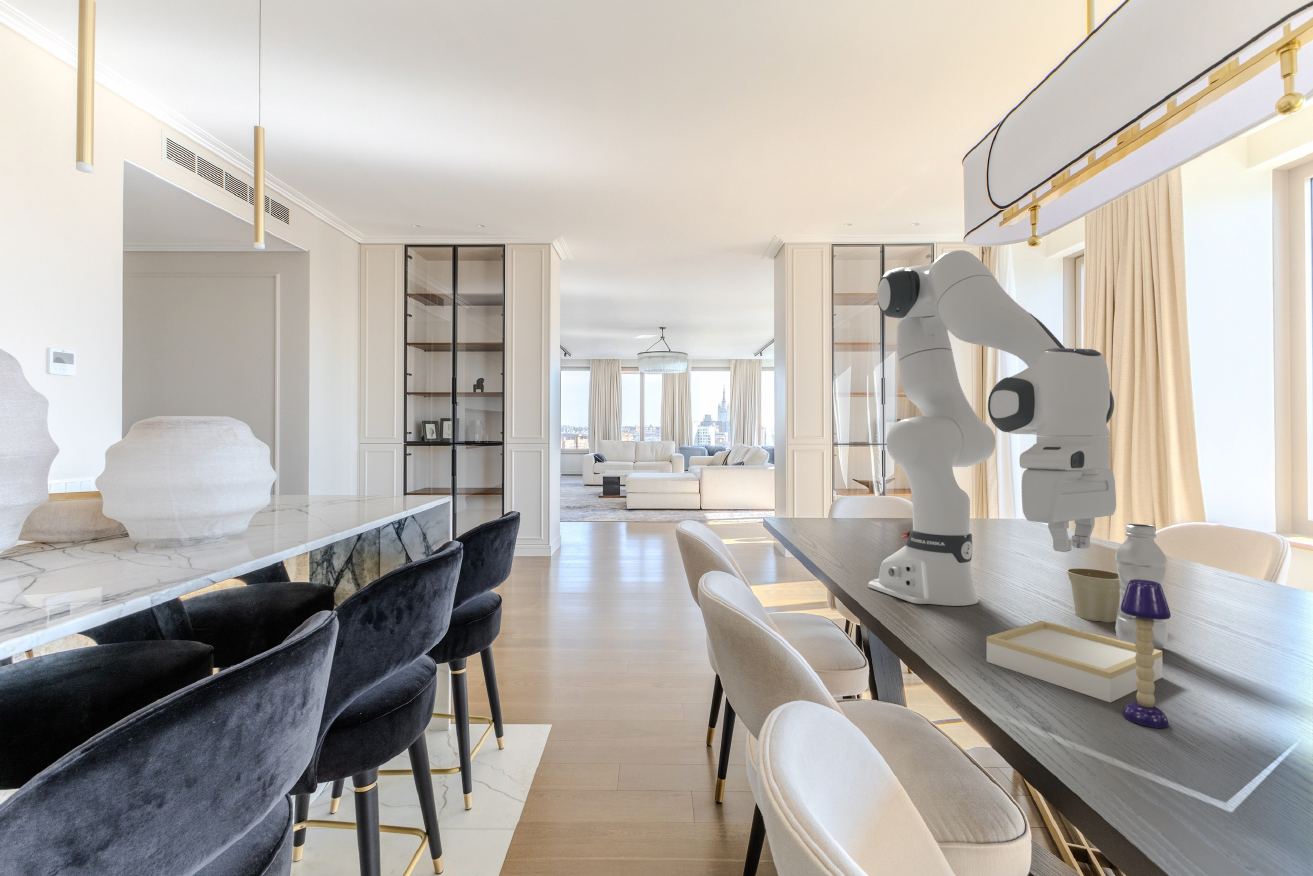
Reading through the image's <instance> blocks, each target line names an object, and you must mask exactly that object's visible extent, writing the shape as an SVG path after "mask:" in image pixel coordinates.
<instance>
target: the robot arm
mask: <svg viewBox="0 0 1313 876" xmlns="http://www.w3.org/2000/svg"><path fill="white" fill-rule="evenodd" d="M877 285H878V286H877V290H876V291H877V294H876V296H877V298H876V299H877V304H878V308H879V309H880V312H882V313H883V314H884V315H885V317H889V318H893V319H894V318H895V319H899V320H898V322H897V325H896V351H897V361H898V365H899V371H900V377H901V382H902V387H903V393H904V396H905V397H906V399H907V400H908V401H910V402H911V403H912V404H914V405H915V406H916V407H917V408H918V410H919V411H920V413H921V415H922V416H919V415H917V416H914V417H909V418H905V419H901V420H898V421H896V422H895V423H894V424H892V425H891V427H890V429H889V431H888V433H887V436H886V449H887V452H888V454H889V455H890V457H891V459H892V460H893V461H894V462H895V463H897V464H898V465H899V467H900V468H901V469H902V471H903V473H904V475H905V478H906V479H907V482H908V485H909V488H910V494H911V501H912V503H911V504H912V529H911V530H909V531H907V532H902V533H901V535H902V536H901V538H902V539H906V538H907V540H906V542H905V545H904V546H903V547H901V548H900V549H899V550H896V551H895V552H894V553H892V554H891V555H889V556H888V557H886V558H885V559H884V560H883V561H882V562H881V564H880V567H879V573H878V575H879V576H878V578H875V579H872V580H869V582H868V584H867V587H868V588H870V589H873V590H876V591H878V592H881V593H883V594H887V595H889V596H893V597H895V598H898V599H900V600H904V601H907V602H910V603H913V604H919V605H927V604H928V605H938V606H940V605H941V606H948V607H949V606H952V607H957V606H958V607H960V606H961V607H963V606H964V607H965V606H972V605H975V604H978V603H979V602H980V601H979V597H978V595H977V591H976V588H975V583H974V578H973V577H974V576H973V570H972V556H973V534H972V533H971V526H970V525H971V523H970V521H971V500H970V497H969V495H968V494H967V492H966V491H965V490H963V489H962V488H961V487H960V486H959V484H958V483H957V480H956V478H955V474H954V470H953V468H967V467H971V466H975V465H978V464H980V463H983V462H986V461H988V460H989V459H990V458H991V456H993V454H994V451H995V449H996V443H997V441H996V436H995V432H994V431H993V429H992V428H991V427H990V426H989V425H988V424H986V422H984V421H983V420H982V419H981V418H980V417H979V416H978V415H977V413H976V411H974V409H973V408H972V405H970V402H969V401H968V399H967V397H966V395H965V392H964V391H963V388H962V386H961V383H960V380H959V376H958V372H957V367H956V363H955V358H954V352H953V348H952V343H951V341H950V337H949V333H950V334H951V335H953V336H954V337H955V338H957V340H958V339H959V340H960V341H962V342H965V343H968V344H973V345H978V346H983V347H988V348H991V349H992V348H993V349H996V350H1000V351H1002V352H1006V353H1008V354H1010V355H1013V356H1015V357H1017V358H1018V359H1020V360H1021V361H1022V362H1024V364H1025V365H1026V366H1027V368H1025V369H1024V370H1023V369H1022V371H1020V372H1018V373H1015V374H1014V375H1012V376H1008V377H1004V378H1002V379H1001V380H999V381H998V382H997V383H996V384H994V387H993V388H992V389H991V391H990V394H989V397H988V402H987V410H988V411H987V412H988V416H989V418H990V420H991V422H992V423H993V425H994V426H995V427H996V428H997V429H998V430H1000V431H1001V432H1003V433H1008V434H1014V435H1035V436H1036V443H1034V444H1033V445H1032V446H1030V448H1028V449H1027V450H1025V451H1024V452H1022V453H1021V454H1020V455H1019V467H1020V468H1022V469H1025V470H1023V473H1022V476H1021V505H1022V506H1021V507H1022V512H1023V515H1024V517H1025V519H1026V520H1027V521H1028V522H1034V523H1043V524H1048V525H1047V526H1048V527H1047V529H1048V530H1049V533H1050V535H1051V537H1052V544H1053V545H1052V548H1053V551H1055V552H1060V553H1067V552H1071V551H1072V549H1073V548H1074V549H1080V550H1081V549H1082V550H1084V549H1085V550H1086V549H1089V548H1090V546H1091V536H1092V532H1093V531H1094V527H1095V522H1096V520H1095V518H1102V517H1109V516H1113V515H1115V512H1116V508H1117V491H1116V481H1115V476H1114V472H1113V470H1112V469H1111V468H1110V467H1111V466H1110V465H1111V461H1110V459H1111V458H1110V455H1111V454H1110V452H1111V451H1110V450H1111V443H1110V442H1111V441H1110V440H1111V439H1110V438H1111V437H1110V435H1111V434H1110V429H1109V427H1108V423H1109V422H1110V420H1111V418H1112V416H1113V414H1114V410H1115V400H1114V399H1115V398H1114V396H1113V393H1112V390H1111V388H1110V375H1109V368H1108V364H1107V361H1106V359H1105V357H1104V355H1103V353H1102V352H1099V351H1097V349H1096V350H1095V349H1092V348H1066V347H1065V346H1064V345H1063V344H1062V342H1060V340H1059V339H1058V338H1057V337H1056V336H1055V335H1054V334H1053V333H1052V332H1051V330H1050V329H1049V328H1048V327H1046V325H1045V324H1044V323H1043V322H1042V321H1041V320H1040V319H1038V318H1037V317H1035V316H1034V315H1033V314H1032V313H1030V312H1029V311H1027V310H1026V309H1025V308H1023V307H1022V306H1021V305H1020V304H1019V303H1017V302H1016V301H1015V300H1014V299H1013V298H1012V297H1011V296H1010V295H1009V294H1008V293H1007V292H1006V291H1005V290H1004V288H1003V287H1002V286H1001V285H1000V283H999V282H998V281H997V278H996V277H995V276H994V274H993V273H992V272H991V271H990V269H989V268H988V267H987V266H986V265H985V264H984V263H983V262H982V261H981V260H980V259H979V257H977V256H976V255H974V254H973V253H971V252H970V251H967V250H964V249H956V250H955V249H954V250H951V251H948V252H945V253H943V254H942V255H940V256H939V257H938V258H937V259H935V260H934V261H933V262H930V263H927V264H926V263H925V264H919V265H913V266H908V267H904V266H903V267H901V266H900V267H897V268H893V269H891V270H888V271H886V272H884V274H883V275H882V277H881V278H880V279H879V281H878V284H877ZM1071 521H1074V524H1076V525H1075V531H1074V534H1073V535H1071V539H1070V537H1069V532H1068V529H1069V528H1070V522H1071Z"/></svg>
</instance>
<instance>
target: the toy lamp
mask: <svg viewBox="0 0 1313 876" xmlns="http://www.w3.org/2000/svg"><path fill="white" fill-rule="evenodd" d="M1167 601H1168V600H1167V599H1166V595H1165V593H1164V588H1163V589H1162V587H1161V585H1160V584H1159V583H1157V582H1154V581H1148V580H1139V579H1134V580H1130V581H1129V583H1128V586H1127V589H1126V592H1125V595H1124V598H1123V601H1122V604H1121V611H1122V612H1123V613H1125V614H1128V615H1131V616H1136V618H1135V623H1136V625H1137V628H1136V631H1135V635H1136V638H1137V641H1136V643H1135V647H1136V650H1137V653H1136V656H1135V660H1136V663H1137V667H1136V675H1137V677H1138V678H1137V681H1136V686H1137V689H1138V690H1137V692H1136V696H1135V697H1136V701H1133V702H1129V703H1127V704H1126V705H1125V707H1124V708H1123V710H1122V711H1123V712H1122V716H1123V717H1124V718H1125V719H1126V720H1128V721H1130V722H1132V723H1134V724H1137V725H1141V726H1144V727H1149V728H1157V729H1158V728H1159V729H1162V728H1167V727H1168V726H1169V721H1168V717H1167V716H1166V714H1165V712H1163V710H1162V709H1160V708H1159V707H1157V706H1155V705H1156V704H1155V703H1156V698H1155V697H1156V696H1155V695H1154V692H1155V690H1156V689H1155V688H1156V685H1155V681H1154V682H1153V679H1154V676H1155V673H1154V670H1153V668H1152V667H1153V665H1154V658H1153V656H1152V653H1153V652H1154V645H1153V643H1152V640H1153V638H1154V633H1153V630H1152V628H1153V626H1154V620H1153V619H1158V620H1164V621H1165V620H1169V619H1171V611H1170V608H1169V604H1168V602H1167Z"/></svg>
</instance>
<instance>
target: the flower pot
mask: <svg viewBox="0 0 1313 876" xmlns="http://www.w3.org/2000/svg"><path fill="white" fill-rule="evenodd" d="M1065 571H1066V573H1067V574H1068V580H1069V581H1070V584H1071V590H1072V591H1071V592H1072V597H1073V604H1074V612H1075V615H1076V616H1077V617H1079V618H1081V619H1084V620H1088V621H1093V622H1103V623H1113V622H1116V619H1117V616H1118V615H1119V614H1118V611H1119V600H1120V587H1119V577H1118V572H1114V571H1110V570H1103V569H1095V568H1089V567H1088V568H1087V567H1085V568H1084V567H1082V568H1081V567H1073V568H1067V569H1066V570H1065Z"/></svg>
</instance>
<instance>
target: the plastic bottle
mask: <svg viewBox="0 0 1313 876" xmlns="http://www.w3.org/2000/svg"><path fill="white" fill-rule="evenodd" d="M1125 527H1126V528H1125V534H1124V535H1125V536H1127V539H1126V540H1125V541H1124V542H1122V543H1121V544H1120V545H1119V547H1118V548H1117V549H1116V552H1115V555H1114V558H1115V559H1114V560H1115V565H1116V571H1117V572H1116V573H1118V577H1119V587H1120V600H1119V608H1118V614H1117V619H1116V621H1115V627H1114V629H1115V634H1116V638H1117V639H1118V640H1121V641H1125V642H1129V643H1133V644H1135V643H1136V641H1137V638H1136V635H1135V631H1136V628H1137V625H1136V623H1135V618H1136V616H1131V615H1128V614H1125V613H1123V612H1122V611H1121V604H1122V601H1123V598H1124V595H1125V592H1126V589H1127V586H1128V583H1129V581H1130V580H1134V579H1139V580H1148V581H1154V582H1157V583H1159V584H1160V585H1161V587H1162V589H1163V590H1164V579H1165V574H1166V569H1167V563H1168V562H1167V561H1168V560H1167V558H1166V555H1165V553H1164V551H1163V550H1162V549H1161V547H1160V546H1159V545H1158V544H1157V543H1156V542H1155V539H1156V538H1157V534H1156V526H1155V525H1151V524H1141V523H1127V524H1126V525H1125ZM1153 620H1154V626H1153V628H1152V630H1153V633H1154V638H1153V640H1152V643H1153V645H1154V649H1157V650H1162V649H1163V648H1165V646H1167V644H1168V642H1167V641H1168V638H1169V634H1168V628H1167V625H1166V622H1165V619H1164V620H1158V619H1153Z"/></svg>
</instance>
